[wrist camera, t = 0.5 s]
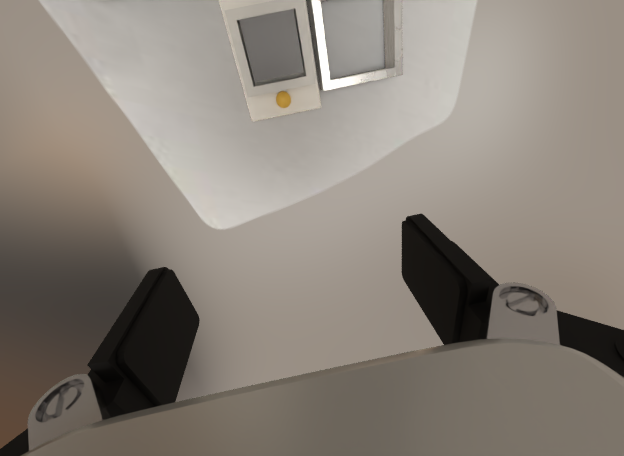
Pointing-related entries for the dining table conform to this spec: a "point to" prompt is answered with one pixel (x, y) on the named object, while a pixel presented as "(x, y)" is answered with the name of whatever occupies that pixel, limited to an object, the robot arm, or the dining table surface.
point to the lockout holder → (391, 46)
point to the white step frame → (282, 90)
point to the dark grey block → (272, 45)
